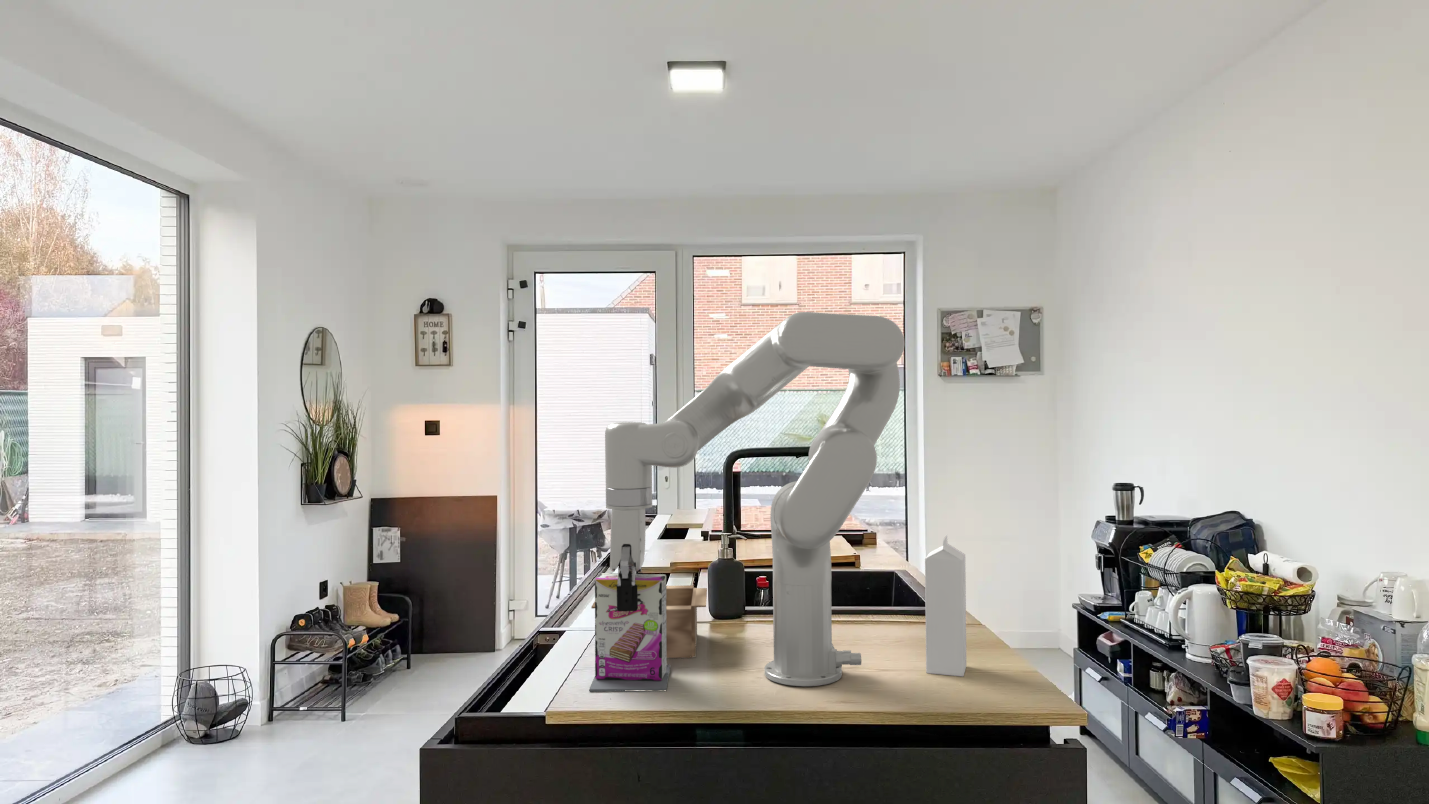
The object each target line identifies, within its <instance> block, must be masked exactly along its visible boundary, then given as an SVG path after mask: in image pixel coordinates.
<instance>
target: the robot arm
mask: <svg viewBox="0 0 1429 804" xmlns="http://www.w3.org/2000/svg"><path fill="white" fill-rule="evenodd" d="M904 350H905V335H904V333H903V332H902V329H901V328H900V327H899V325H897V324H896V322H894V321H893V320H892V319H889V318H886V317H884V316H880V315H870V314H869V315H866V314H840V313H827V312H826V313H825V312H815V311H812V312H811V311H810V312H809V311H800V312H795V313H793V314H791V315H789V316H788V317H786V318H785V319H784V320H782V321H781V322H780V323H778V324H777V325H776V326H775V327H773V329H771V330H770V331H769V332H768V333H767V334H765V335H764V336H763V337H761V339H759V340H758V341H757V342H756V343H755V344H753V345H752V346H751V347H750V348H749V349H747V350H746V351H744V352H743V353H742V354H741V355H740V356H738V357H737V358H736V359H735V360H734V361H732V362H731V363H729V365H728V366H726V367H725V368H724V369H723V370H721V372H719V373H718V375H716V376H715V378H714V379H713V380H712V381H711V382H710V383H709V384H708V385H707V386H706V387H705V388H703V390H702V391H701V392H700V393H698V394H697V395H696V396H695V397H694V398H692V399H691V400H690V401H688V402H687V403H686V404H685V405H684V406H683V407H681V408H680V409H679V410H678V411H676V413H674V414H673V415H672V416H671V417H669V418H668V419H666V420H665V421H664V422H658V423H650V424H648V423H645V422H638V421H637V422H636V421H634V422H633V421H628V422H627V421H625V422H624V421H623V422H621V421H620V422H613V423H610V424H608V425H607V427H605V428H606V429H605V431H604V453H605V455H604V456H605V457H604V458H605V459H604V460H605V508H606V509H608V510H611V517H610V520H611V521H610V549H609V551H610V554H609V558H610V559H609V569H610V571H611V572H615V571H616V570H617V569H618V571H617V573H618V585H617V610H618V611H637V609H638V593H637V585H636V574H644V573H643V572H642V570H643V569H642V567H643V564H644V562H645V552H646V551H645V550H646V509H651V508H653V466H655V467H663V468H670V469H671V468H673V469H674V468H675V469H677V468H682V467H685V466H687V465H688V464H690V463H691V462H692V461H693V460H694V459H695V457H696V456H697V454H698V452H699V451H700V450H701V449H703V448H704V446H706V445H707V444H708V443H710V441H712V440H713V439H714V438H716V436H718V435H719V434H721V433H722V432H723V431H724V430H726V429H727V428H729V427H730V426H731V425H733V424H734V423H735V422H737V421H739V420H741V419H742V418H745V417H747V416H749V415H751V414H753V413H754V412H755V411H757V410H758V409H760V408H761V407H762V406H763V405H764V404H766V403H767V402H768V401H769V400H771V399H772V398H773V397H774V396H775V395H776V394H778V393H779V392H780V391H781V390H782V389H783V388H785V387H787V385H789V383H791V382H792V381H793V380H795V379H796V378H797V377H799V375H801V373H803V372H804V371H806V370H807V369H808V368H809V367H813V368H815V367H816V368H827V369H841V370H842V369H843V370H848V382H847V386H846V387H845V388H846V389H845V391H844V393H843V394H842V396H841V398H840V399H839V401H838V403H837V405H836V407H835V409H834V410H833V411H832V412H831V415H829V417H828V419H827V421H826V422H825V423H824V425H823V427H822V428H821V430H820V431H819V432H818V433H817V435H816V436H815V437H814V439H813V440H812V442H811V444H810V446H809V450H808V463H807V465H806V466H805V468H804V470H803V471H802V473H801V474H800V476H799V477H798V479H797V480H794V481H792V482H788V483H786V484H784V486H782V487H781V488H779V489H778V491H777V492H776V493H775V495H774V497H773V499H772V502H771V504H770V505H771V506H770V531H771V533H770V534H771V547H772V548H771V549H772V597H773V598H772V607H773V609H772V613H773V616H772V619H773V623H772V624H773V625H772V626H773V660H771V661H768V663H767V664H766V665H764V670H763V671H764V676H765V677H766V678H767V679H768V680H770V681H772V682H774V683H777V684H781V685H787V686H791V687H795V686H796V687H816V686H824V685H830V684H832V683H835V682H837V681H839V680H840V679H841V678H842V676H843V672H842V671H843V668H842V667H843V665H845V666H846V665H847V666H861V665H862V654H861V653H860V652H852V650H850V649H847V650H846V649H845V650H838V649H836V648H835V647H834V644H833V641H832V640H833V638H832V637H833V636H832V635H833V634H832V633H833V632H832V630H833V629H832V623H833V621H832V620H833V619H832V618H833V617H832V556H831V555H832V552H831V551H832V550H831V541H832V539H833V538H834V537H835V536H836V535H837V533H838V532H839V531H840V529H841V528H842V526H843V525H844V523H845V522H846V520H847V519H848V517H849V516H850V514H851V512H852V511H853V510H854V509H855V506H856V505H857V503H858V501H859V500H860V499H861V497H862V495H863V493H864V492H865V490H866V489H867V487H868V485H869V484H870V482H871V480H872V479H873V476H874V473H875V471H876V468H877V462H878V461H877V460H878V457H877V452H876V451H877V450H876V447H875V444H876V443H877V441H878V439H879V438H880V436H881V435H882V433H883V431H884V429H885V428H886V425H887V424H888V422H889V421H890V420H891V419H890V418H891V417H892V415H893V413H894V411H895V409H896V406H897V404H898V400H899V396H900V390H901V388H900V387H901V386H900V385H901V382H900V381H901V380H900V372H899V366H898V362H899V360H900V359H901V357H902V355H903V354H904Z"/></svg>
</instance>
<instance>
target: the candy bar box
mask: <svg viewBox="0 0 1429 804" xmlns="http://www.w3.org/2000/svg"><path fill="white" fill-rule="evenodd" d="M617 585H618V572H617V573H616V572H615V573H613V572H610V573H609V572H606V573H605V572H604V573H602V572H601V573H600V574H599V575H598V576H596V577H595V579H594V602H595V608H594V631H595V632H594V660H595V661H594V665H595V666H594V669H595V670H594V671H595V672H594V677H595V679H614V680H653V681H662V679H663V677H664V675H665V673H666V671H667V665H668V664H667V663H668V662H667V660H668V658H667V639H666V628H667V627H666V586H667V575H666V574H663V573H662V574H661V573H659V574H655V573H651V574H650V573H643V574H636V585H637V593H638V609H637V611H618V610H617Z"/></svg>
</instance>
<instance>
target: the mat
mask: <svg viewBox="0 0 1429 804" xmlns="http://www.w3.org/2000/svg"><path fill="white" fill-rule="evenodd" d="M669 671H670V672H671V664H667V671H666V673H665V675H664V677H663V679H662V681H653V680H614V679H595V676H594V677H593V680H592V682H591V684H590V686H589V689H588V692H589V691H590V692H589V693H597V692H598V691H600V692H598V693H602V692H603V691H605V692H606V691H621V692H626V691H625V690H666V691H667V688H668V682H669V677H670V676H669V675H670V672H669ZM593 691H595V692H593ZM605 692H604V693H605ZM606 693H607V692H606Z"/></svg>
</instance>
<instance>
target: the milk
mask: <svg viewBox="0 0 1429 804" xmlns="http://www.w3.org/2000/svg"><path fill="white" fill-rule="evenodd" d="M966 573H967V572H966V554H965V553H964V552H962V551H961V550H958V549H957V548H955V547H954V546H952V545H951V544H949V543H948V534H945V537H944V538H943V539H942V545H941V546H939V547H937V548H935V549H933V550H932V551H930V552H928V554H927V555H926V556H925V559H924V581H925V582H924V585H925V586H924V588H925V591H924V593H925V595H924V596H925V597H924V598H925V600H924V602H925V606H924V607H925V671H926V672H925V673H926V674H931V675H932V674H933V675H943V676H953V677H954V676H955V677H964V675H965V672H966V668H967V603H966V602H967V595H966V594H967V587H966V583H967V582H966V577H967V576H966Z"/></svg>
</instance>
